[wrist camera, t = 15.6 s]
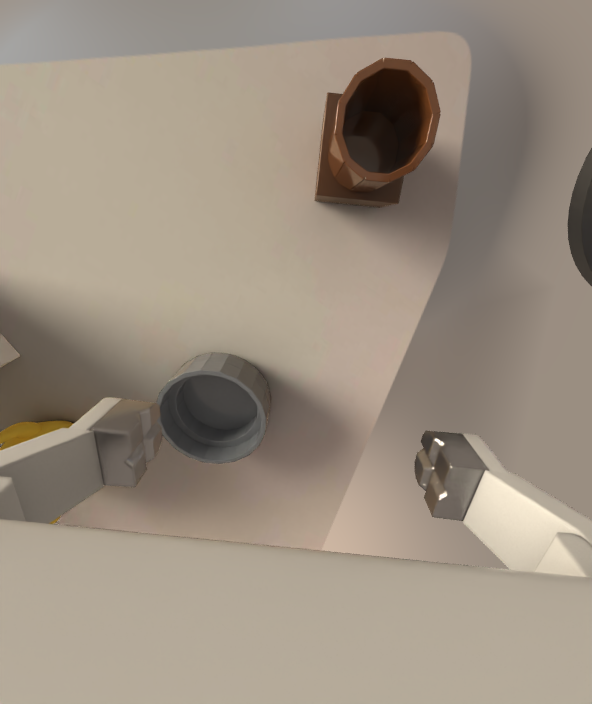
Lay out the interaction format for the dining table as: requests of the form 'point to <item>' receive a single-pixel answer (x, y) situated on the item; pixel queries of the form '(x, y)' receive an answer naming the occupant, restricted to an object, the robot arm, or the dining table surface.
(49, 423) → the teapot
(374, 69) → the cup
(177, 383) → the grey round tub
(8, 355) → the white v-notched block
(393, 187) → the stand
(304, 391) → the dining table surface
